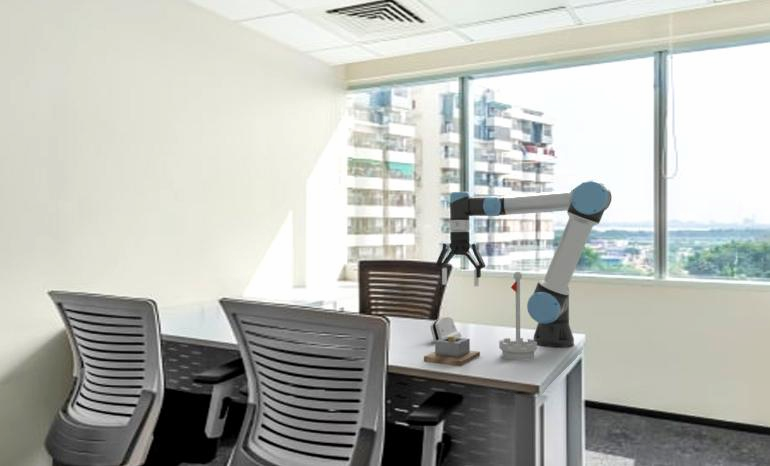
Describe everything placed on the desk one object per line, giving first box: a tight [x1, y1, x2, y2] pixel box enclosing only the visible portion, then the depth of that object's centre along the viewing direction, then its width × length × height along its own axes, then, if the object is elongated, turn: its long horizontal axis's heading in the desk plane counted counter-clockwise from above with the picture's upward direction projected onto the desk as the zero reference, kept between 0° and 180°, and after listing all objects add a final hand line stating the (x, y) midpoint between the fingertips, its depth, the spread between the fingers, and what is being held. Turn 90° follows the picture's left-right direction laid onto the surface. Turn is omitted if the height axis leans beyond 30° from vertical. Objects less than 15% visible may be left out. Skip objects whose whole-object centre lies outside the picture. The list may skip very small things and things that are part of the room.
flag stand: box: [498, 271, 538, 361], centre depth 205 cm, size 13×13×30 cm
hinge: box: [430, 316, 463, 344], centre depth 236 cm, size 17×5×10 cm, turn 151°
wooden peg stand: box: [423, 336, 481, 367], centre depth 203 cm, size 14×16×8 cm
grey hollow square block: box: [434, 336, 471, 358], centre depth 203 cm, size 9×9×5 cm
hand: (460, 285), depth 228 cm, fingers open, 13 cm apart
